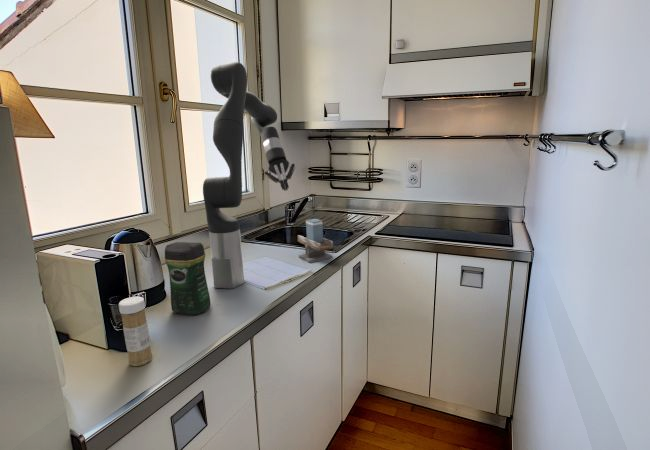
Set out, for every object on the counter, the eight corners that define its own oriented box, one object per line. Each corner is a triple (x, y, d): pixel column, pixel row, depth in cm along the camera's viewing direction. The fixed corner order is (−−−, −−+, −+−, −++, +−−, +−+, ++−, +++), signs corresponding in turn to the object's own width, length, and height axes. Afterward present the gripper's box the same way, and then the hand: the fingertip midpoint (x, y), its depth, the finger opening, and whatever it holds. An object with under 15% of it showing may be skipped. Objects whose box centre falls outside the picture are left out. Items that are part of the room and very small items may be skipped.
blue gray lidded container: (323, 241, 139) (322, 220, 138) (313, 243, 137) (312, 222, 136) (316, 239, 144) (315, 218, 142) (306, 240, 142) (305, 219, 140)
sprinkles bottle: (145, 352, 81) (136, 293, 78) (157, 359, 79) (148, 298, 76) (124, 362, 78) (113, 301, 75) (135, 370, 75) (125, 307, 72)
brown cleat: (338, 260, 138) (337, 240, 136) (314, 265, 133) (313, 245, 131) (315, 250, 151) (315, 232, 150) (293, 254, 146) (292, 236, 144)
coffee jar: (215, 304, 104) (209, 239, 100) (198, 318, 96) (190, 247, 92) (185, 301, 106) (177, 237, 102) (166, 314, 99) (157, 245, 95)
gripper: (256, 151, 149) (268, 191, 144) (289, 142, 150) (301, 181, 145) (260, 160, 156) (271, 197, 151) (291, 151, 157) (302, 188, 152)
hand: (285, 189), depth 148 cm, fingers closed
